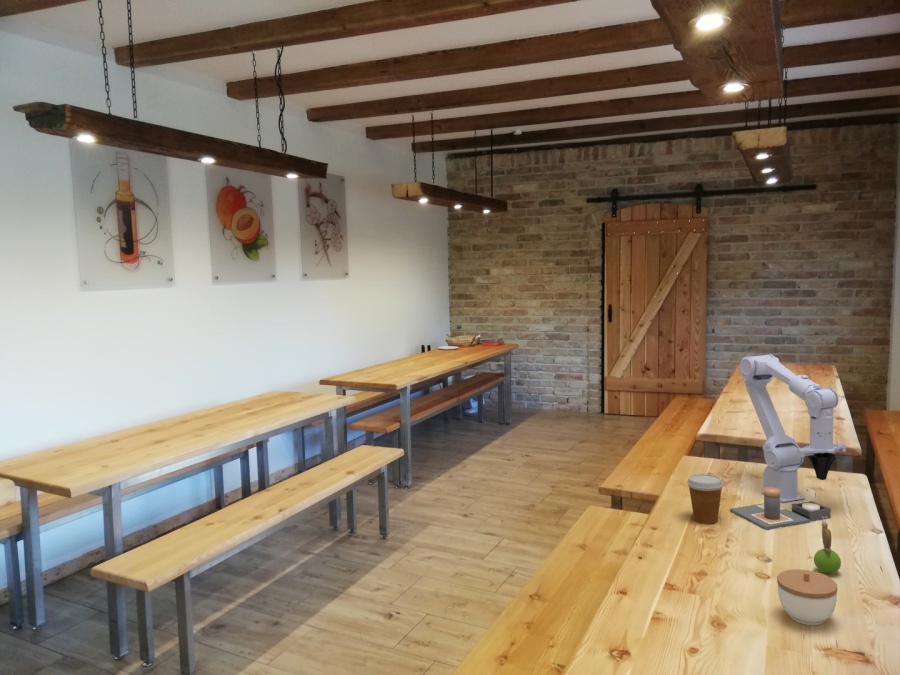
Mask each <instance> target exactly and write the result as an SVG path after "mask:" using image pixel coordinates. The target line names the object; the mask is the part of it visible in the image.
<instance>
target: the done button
mask: <svg viewBox="0 0 900 675" xmlns="http://www.w3.org/2000/svg"><path fill="white" fill-rule="evenodd" d="M802 503H803V502H802ZM818 504H819V503H818ZM818 504H814V503H803V504H802V508H805V509H807V510H809V511H813V510H819V509H820V506H819V505H818Z"/></svg>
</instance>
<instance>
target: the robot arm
mask: <svg viewBox="0 0 900 675" xmlns="http://www.w3.org/2000/svg"><path fill="white" fill-rule="evenodd" d="M738 370H739V372H740V375H741V378H742V380H743V382H744V385H745V388H746V391H747V393H748V396H749V398H750V401H751V403H752V405H753V408H754V411H755V413H756V415H757V418H758V420H759V422H760V424H761V427H762V430H763V433H764V434H765V437H766V441H765V443H764V444H763V445H762V450H763V454H764V456H763V457H764V461H765V463H766V465H767V466H765V467H764V470H763V472H762V474H763V475H762V476H763V479H762V481H763V488H765V487H776V488H779V489H780V503H785V502H786V503H787V502H792V501H800V500H804V499H805V497H804V496H802V495H800V494H798V493H799V492H798V489H799V488H798V482H799V481H798V470H799V469H800V468H801V467H800V466H801V465H803V463H804V459H805V457H808V459H809V460H810V462H811V464H812V466H813V470H814V472H815V475H816V476H815V477H816V479H818V480H821V481H825V480H827V477H828V473H829V470H830V468H831V466H832V465H833V464H834V461H835V460H836V455H835V454H834V453H839V452H842V453H845V452H847V445H846V444H845V443H844V444H843V443H834V409H835V408H836V407H837V406H838V404H839V395H838V393H837V392H836V391H835V390H834V389H833V388H831V387H822V386H821V385H820V384H819V383H816V382H815V381H812V380H811V379H810V378H809V376H808V375H806V374H804V375H803V374H798V375H797V374H795V373H794V372H793V371H791V370H790V369H789V368H787V367H786V366H784V365H783V364H782V363H781V362H780V360H779V358H778V357H776V356H774V355H773V354H770V353H769V354H764V355H755V356H744V357H743V358H742V359H741V360H740V364H739V367H738ZM773 378H776V379H777V380H779V381H780V382H782V383H784V384H786V385H788V389H789V391H790V392H791V393H793V394H794V395H795V396H797V397H798V398H800V399H802V400H803V401H804V404H805V406H806V408H807V414H808V416H809V445H807V446H804V447H800V446H799V445H798V444H797V441H796V439H795V438H793V437H791V436H789V435H787V434H786V431H785V430H784V426H783V424H782V422H781V420H780V417H779V415H778V413H777V411H776V408H775V406H774V404H773V401H772V399H771V397H770V394H769V391H768V389H767V385H768V384H769V383H770V382H771V381H772V379H773ZM763 488H762V489H763ZM760 493H761V494H763V495H764V490H761V491H760Z"/></svg>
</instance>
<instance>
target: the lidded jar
mask: <svg viewBox="0 0 900 675" xmlns="http://www.w3.org/2000/svg"><path fill="white" fill-rule="evenodd" d="M776 583H777V594H778V598H779V601H780V604H781V607H782V608H783V609H784V611H785V612H786V613H787V614H788V615H789V617H790V619H792V620H793V621H795V622H797V623H799V624H802V625H806V626H820V625H822V624H823V623H824V622H825V621H826V620H828V619H829V618H830V617H832V615H833V614H834V612H835V608H836V605H837V597H838V594H837V593H838V583H837V582H836V581H835V580H834V579H833V578H831V577H830V576H828V575H827V574H823V573H821V572H817V571H814V570H813V571H812V570H809V569H787V570H784V571H781V572H780V573H778V575H777V577H776Z"/></svg>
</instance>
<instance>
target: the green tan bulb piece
mask: <svg viewBox="0 0 900 675" xmlns="http://www.w3.org/2000/svg"><path fill="white" fill-rule="evenodd" d="M821 518H822V520H827V517H825V519H824V517H823V516H822V517H821ZM828 526H829V524H828V522H827V521H822V523H821V538H822V545H823V548H821V549H819V550H817V551H816V552H815V554H814V556H813V563H814V565H815V567H816V568H817V569H818V570H819V571H821V572H822V573H825V574H828V575H829V574H835V573H836V572H838V571H839V570H840V569H841V565H842V560H841V557H840V556H839V554H838V553H837V552H835V551H834V550H832V549H831V547H832V533H831V532H832V531H831V530H830V529H829V528H828Z"/></svg>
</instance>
